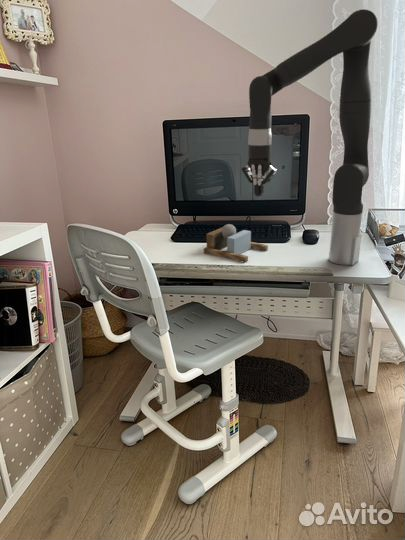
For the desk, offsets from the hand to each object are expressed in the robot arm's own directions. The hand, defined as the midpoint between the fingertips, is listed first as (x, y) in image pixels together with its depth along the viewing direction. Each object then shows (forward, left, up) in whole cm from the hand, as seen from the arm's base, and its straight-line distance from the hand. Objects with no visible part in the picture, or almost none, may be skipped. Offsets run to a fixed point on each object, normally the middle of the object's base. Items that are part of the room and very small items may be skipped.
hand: (258, 195), depth 146 cm
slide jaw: (+8, 0, -22) cm, 23 cm away
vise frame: (+9, 0, -22) cm, 24 cm away
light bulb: (+11, 0, -22) cm, 25 cm away
